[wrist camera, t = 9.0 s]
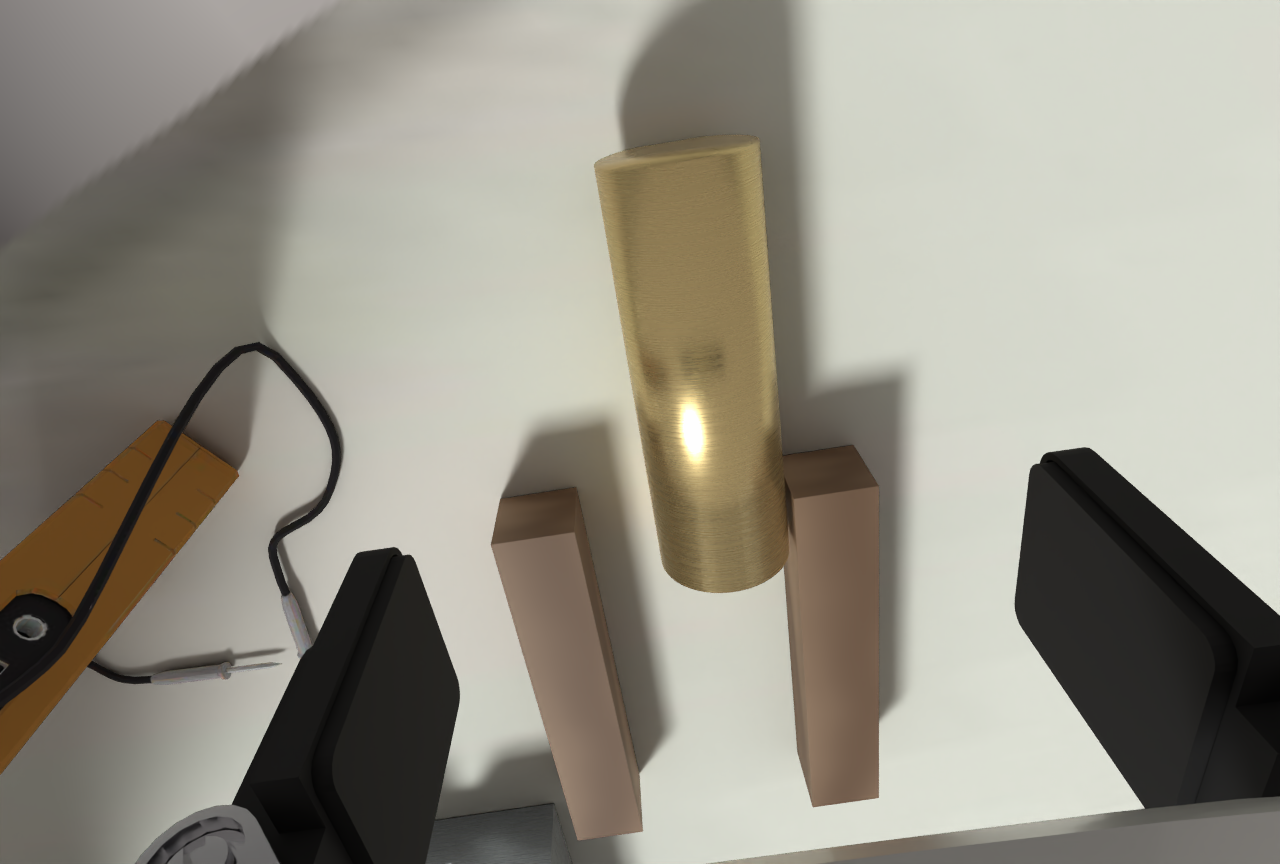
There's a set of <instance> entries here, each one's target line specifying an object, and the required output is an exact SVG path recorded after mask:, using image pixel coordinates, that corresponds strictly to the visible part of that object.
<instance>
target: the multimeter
mask: <svg viewBox="0 0 1280 864" xmlns="http://www.w3.org/2000/svg"><path fill="white" fill-rule="evenodd" d="M255 350H256V351H258V352H260V353H261V354H263V355H265V356H267V357H268V358H270V359H272V360H273V361H274V362H275V363H276V364H277V365H278V367H279V368H280V369H281V370H282V371H283V372H284V373H285V374H286V375H287V376H288V377H289V379H290V380H291V381H292V382H293V383H294V384H295V386H296V387H297V388H298V389H299V390H300V392H301V393H302V394H303V395H304V397H305V398H306V399H307V400H308V402H309V403H310V405H311V406H312V408H313V409H314V410H315V412H316V413H317V415H318V416H319V418H320V420H321V422H322V424H323V426H324V427H325V429H326V432H327V435H328V437H329V440H330V444H331V449H332V466H331V473H330V477H329V481H328V484H327V488H326V491H325V493H324V496H323V498H322V500H321V501H320V502H319V504H318V505H317V506H316V507H315V508H314V509H313V510H312V511H310V512H309V513H308V514H307V515H305V516H303V517H302V518H300V519H298V520H296V521H294V522H293V523H291V524H289V525H287V526H285V527H284V528H282V529H281V530H280V531H278V532H277V533H276V534H275V535H274V536H273V538H272V539H271V541H270V544H269V547H268V552H269V559H270V562H271V566H272V569H273V572H274V575H275V578H276V582H277V584H278V587H279V589H280V591H281V594H282V595H281V599H282V606H283V610H284V613H285V616H286V619H287V621H288V624H289V627H290V630H291V633H292V635H293V638H294V641H295V644H296V647H297V649H298V658H299V659H301V657H302V656H303V654H304V653H305V651H306V650H307V649H309V648H310V647H312V643H311V640H310V637H309V634H308V631H307V628H306V626H305V623H304V620H303V617H302V614H301V611H300V608H299V605H298V603H297V601H296V599H295V597H294V595H293V594H292V592H290V591H289V588H288V586H287V584H286V581H285V579H284V575H283V572H282V569H281V566H280V562H279V559H278V556H277V544H278V542H279V541H280V540H281V539H282V538H283V537H285V536H286V535H287V534H289V533H291V532H293V531H294V530H296V529H298V528H300V527H302V526H303V525H305V524H307V523H309V522H310V521H312V520H313V519H314V518H315V517H316V516H318V515H319V514H320V513H321V512H322V511H323V509H324V508H325V507H326V506H327V504H328V503H329V501H330V499H331V496H332V494H333V492H334V489H335V486H336V482H337V478H338V474H339V470H340V462H341V449H340V444H339V439H338V436H337V433H336V430H335V428H334V425H333V423H332V421H331V420H330V418H329V416H328V414H327V412H326V411H325V409H324V408H323V406H322V405H321V403H320V402H319V400H318V399H317V397H316V396H315V395H314V393H313V392H312V391H311V390H310V388H309V387H308V386H307V385H306V383H305V382H304V381H303V380H302V379H301V377H300V376H299V375H298V374H297V373H296V372H295V371H294V370H293V368H292V367H291V366H290V365H289V364H288V363H287V362H286V361H285V360H284V359H283V358H282V356H281V355H280V354H279V353H277V352H275V351H274V350H272V349H270V348H268V347H267V346H265V345H263V344H261V343H260V342H257V343H252V344H248V345H243V346H238V347H235V348H233V349H232V350H231V351H230V352H229V353H228V354H226V355H225V356H224V357H223V358H222V359H220V360H219V361H218V362H217V363H216V364H215V365H214V366H213V367H212V368H211V370H210V371H209V372H208V373H207V375H206V376H205V377H204V379H203V380H202V381H201V383H200V384H199V385H198V387H197V388H196V389H195V391H194V392H193V393H192V395H191V396H190V398H189V400H188V401H187V403H186V405H185V406H184V408H183V410H182V411H181V413H180V415H179V416H178V418H177V420H176V421H175V423H174V425H173V426H171V425H170V424H169V423H167V422H166V421H159V420H158V421H157V422H155V423H154V424H153V425H152V426H151V427H150V428H149V429H148V430H147V431H146V432H144V433H143V434H142V435H141V436H140V437H139V438H138V439H137V440H135V441H134V442H133V443H132V444H131V445H130V446H129V447H128V448H127V449H125V450H124V451H123V452H122V453H121V454H120V455H119V456H117V457H116V458H115V459H114V460H113V461H112V462H111V463H110V464H108V465H107V466H106V467H105V468H104V469H103V470H102V471H101V472H99V473H98V474H97V475H96V476H95V477H94V478H93V479H92V480H90V481H89V482H88V483H87V484H86V485H85V486H84V487H83V488H81V489H80V490H79V491H78V492H77V493H76V494H75V495H74V496H72V497H71V498H70V499H69V500H68V501H67V502H66V503H65V504H63V505H62V506H61V507H60V508H59V509H58V510H57V511H56V512H54V513H53V514H52V515H51V516H50V517H49V518H48V519H47V520H45V521H44V522H43V523H42V524H41V525H40V526H39V527H38V528H36V529H35V530H34V531H33V532H32V533H31V534H30V535H29V536H27V537H26V538H25V539H24V540H23V541H22V542H21V543H20V544H18V545H17V546H16V547H15V548H14V549H13V550H12V551H11V552H10V553H8V554H7V555H6V556H5V557H4V558H3V559H2V560H1V561H0V775H1V773H2V772H3V771H4V770H5V768H6V767H7V766H8V765H9V763H10V762H11V761H12V760H13V758H14V757H15V756H16V755H17V753H18V752H19V751H20V750H21V748H22V747H23V746H24V745H25V743H26V742H27V741H28V740H29V738H30V737H31V736H32V735H33V733H34V732H35V731H36V730H37V728H38V727H39V726H40V725H41V723H42V722H43V721H44V720H45V718H46V717H47V716H48V715H49V713H50V712H51V711H52V710H53V708H54V707H55V706H56V705H57V703H58V702H59V701H60V700H61V698H62V697H63V696H64V695H65V693H66V692H67V691H68V690H69V688H70V687H71V686H72V685H73V683H74V682H75V681H76V680H77V678H78V677H79V676H80V675H81V673H82V672H83V671H84V670H85V668H86V667H89V668H91V669H93V670H94V671H96V672H98V673H100V674H102V675H104V676H106V677H108V678H110V679H112V680H115V681H118V682H122V683H129V684H144V683H152V684H176V683H184V682H192V681H201V680H209V679H217V678H221V679H228V678H229V677H230V676H231V673H233V672H241V671H249V670H258V669H266V668H272V667H275V666H278V665H281V664H280V663H273V662H269V663H262V664H254V665H246V666H238V667H231V664H230V663H229V662H223V663H222V664H220V665H212V666H203V667H195V668H187V669H179V670H170V671H165V672H161V673H157V674H154V675H153V676H141V677H131V676H124V675H120V674H117V673H115V672H112V671H110V670H108V669H106V668H104V667H102V666H101V665H99V664H97V663H95V662H93V661H92V660H93V658H94V657H95V656H96V655H97V653H98V652H99V651H100V650H101V648H102V647H103V646H104V645H105V643H106V642H107V641H108V640H109V638H110V637H111V636H112V635H113V633H114V632H115V631H116V630H117V628H118V627H119V626H120V625H121V623H122V622H123V621H124V620H125V618H126V617H127V616H128V615H129V613H130V612H131V611H132V609H133V608H134V607H135V606H136V604H137V603H138V602H139V601H140V599H141V598H142V597H143V596H144V594H145V593H146V592H147V591H148V589H149V588H150V587H151V586H152V584H153V583H154V582H155V581H156V579H157V578H158V577H159V576H160V574H161V573H162V572H163V571H164V569H165V568H166V567H167V566H168V564H169V563H170V562H171V561H172V559H173V558H174V556H175V555H176V554H177V553H178V552H179V551H180V549H181V548H182V547H183V546H184V544H185V543H186V542H187V541H188V539H189V538H190V537H191V535H192V534H193V533H194V532H195V530H196V529H197V528H198V527H199V525H200V524H201V523H202V522H203V520H204V519H205V518H206V517H207V515H208V514H209V513H210V512H211V510H212V509H213V508H214V507H215V505H216V504H217V503H218V502H219V500H220V499H221V498H222V497H223V495H224V494H225V493H226V492H227V490H228V489H229V488H230V487H231V485H232V484H233V483H234V482H235V480H236V479H237V478H238V477H239V474H238V472H237V470H236V469H234V468H233V467H232V466H230V465H229V464H227V463H226V462H224V461H223V460H221V459H220V458H218V457H217V456H215V455H214V454H212V453H211V452H209V451H208V450H206V449H205V448H203V447H201V445H199V444H198V443H196V442H195V441H193V440H192V439H190V438H189V437H187V436H186V435H185V434H183V433H182V432H183V430H184V429H185V427H186V425H187V424H188V422H189V420H190V419H191V417H192V415H193V413H194V412H195V410H196V408H197V407H198V405H199V403H200V402H201V400H202V398H203V397H204V396H205V394H206V393H207V392H208V390H209V389H210V387H211V386H212V385H213V383H214V382H215V381H216V379H217V378H218V377H219V375H220V374H221V373H222V371H223V370H224V369H225V368H226V367H228V366H229V365H230V364H231V363H232V362H233V361H234V360H236V359H237V358H238V357H239V356H240V355H241V354H243V353H247V352H251V351H255ZM200 447H201V448H200Z"/></svg>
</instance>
